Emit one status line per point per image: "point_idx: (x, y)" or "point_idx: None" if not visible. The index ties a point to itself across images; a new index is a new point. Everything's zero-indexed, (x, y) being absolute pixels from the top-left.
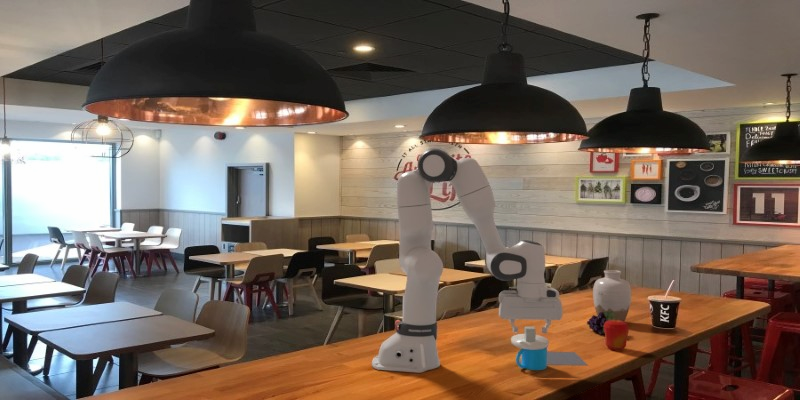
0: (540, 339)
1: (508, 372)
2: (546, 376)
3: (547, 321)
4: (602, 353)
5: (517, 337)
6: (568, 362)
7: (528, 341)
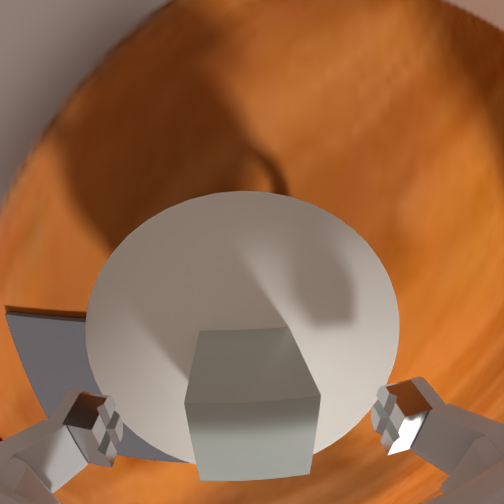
0: (148, 379)
1: (353, 215)
2: (172, 160)
3: (15, 474)
4: (6, 423)
5: (334, 406)
6: (61, 351)
7: (265, 329)
